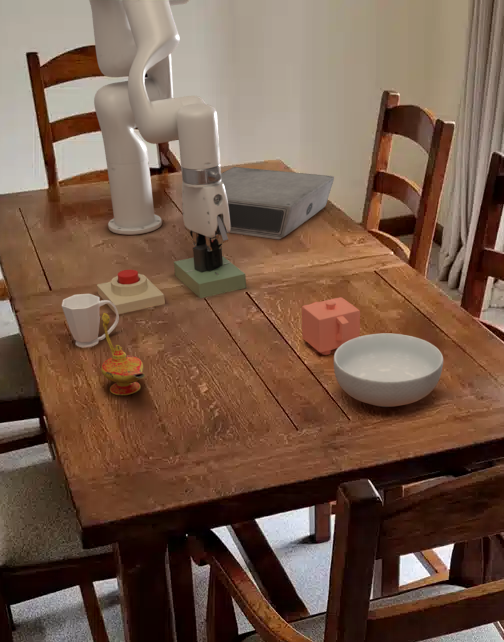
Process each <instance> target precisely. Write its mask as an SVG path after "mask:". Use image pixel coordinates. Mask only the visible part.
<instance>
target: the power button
mask: <svg viewBox="0 0 504 642" xmlns="http://www.w3.org/2000/svg"><path fill="white" fill-rule="evenodd" d="M138 274H139V272H138V270H136V269H124V270H121V271H119V272H117V276H118V282H119V283H120V284H133V283H136V282H138V281H139V277H138Z"/></svg>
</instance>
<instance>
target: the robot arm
mask: <svg viewBox="0 0 504 642" xmlns="http://www.w3.org/2000/svg"><path fill="white" fill-rule="evenodd" d="M88 1H89V4H90V9H91V18H92V25H93V36H94V46H95V55H96V61H97V65H98V68H99V71H100V73H101V74H103V76H105V77H107V78H123V77H124V78H125V77H128V78H127V80H125V81H118V82H112V83H108V84H105V85H103V86H101V87H100V88H99V89H98V90H96V92H95V95H94V98H93V103H94V104H93V105H94V111H95V114H96V118H97V121H98V125H99V128H100V132H101V137H102V142H103V149H104V154H105V155H104V156H105V161H106V168H107V176H108V182H109V191H110V198H111V199H110V200H111V207H112V212H113V213H112V215H113V218H112V219H110V220H109V221H108V223H107V226H108V230H109V231H110V232H112V233H114V234H118V235H125V236H126V235H129V236H131V235H142V234H147V233H150V232H153V231H156V230H158V229H159V228H161V226H162V225H163V221H162V220H163V219H162V217H161V216H159V215H158V214H155V207H154V198H153V188H152V181H151V180H152V179H151V171H150V170H151V169H150V161H149V153H148V147H147V145H146V143H145V142H147V143H148V144H151V145H157V144H158V145H159V144H164V143H168V142H175V141H178V147H179V159H180V170H181V180H182V181H181V183H182V184H181V212H182V221H183V225H184V229H185V230H186V231H187V232H188V233H189V235H190V236H191V238H192V245H193V247H196V246H199V245H202V244H205V243H206V246H207V251H205V257H206V269H207V270H208V271H210V270H213V269H216V268H219V267H220V266H221V264H220V250H219V249H220V248H221V245H223V244H225V243H227V242H229V237H228V235H227V234H230V233H229V232H230V216H229V207H228V201H227V195H226V191H225V187H224V184H223V182H221V173H222V169H221V151H220V150H221V149H220V136H219V122H218V113H217V110H216V108H215V107H214V106H213V105H211V104H209V103H208V104H207V103H206V102H205V100H204V98H202V97H200V96H198V95H184V96H179V97H174V83H173V81H174V80H173V64H172V53H174V51H176V49H177V48H178V47H179V45H180V42H181V38H180V33H179V31H178V27H177V24H176V21H175V19H174V15H173V11H172V6H173V7H174V6H180V5H186V4H187V3H189V2H190V1H191V0H88ZM146 75H147V77H146ZM135 129H137V130H138V132H139V135H140V136H141V137H140V136H139V135H138V133H136V132H135ZM212 240H213V242H212Z"/></svg>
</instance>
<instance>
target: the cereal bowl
mask: <svg viewBox="0 0 504 642" xmlns="http://www.w3.org/2000/svg"><path fill="white" fill-rule="evenodd" d="M443 366H444V356H443V353H442V351H440V349H439V348H438V347H437V346H435V345H434V344H433V343H431V342H429V341H427V340H425V339H422V338H420V337H416V336H412V335H408V334H403V333H402V334H401V333H394V332H393V333H389V332H388V333H386V332H383V333H371V334H365V335H361V336H360V337H357V338H354V339H351V340H349V341H347V342H345V343H343V344H342V345H341V346H340V347H339V348H336V349H335V351H334V355H333V373H334V375H335V379H336V381H337V384H338V385H339V386H340V388H341V389H342V391H344V393H346V394H347V395H348V396H350V397H351V398H353V399H354V400H356V401H358V402H361V403H365V404H369V405H372V406H375V407H379V408H381V407H382V408H392V407H393V408H394V407H399V406H405V405H409V404H413V403H416V402H419V401H420V400H422V399H424V398H426V397H427V396H428V395H429V394H430V393H432V391H434V389H435V388H436V387H437V385H438V383H439V382H440V378H441V376H442V372H443Z"/></svg>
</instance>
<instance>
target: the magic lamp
mask: <svg viewBox="0 0 504 642" xmlns="http://www.w3.org/2000/svg"><path fill="white" fill-rule="evenodd" d="M101 320H102V321H103V323H102V327H103V330H104V334H105V336H106V337H105V340H106V342H107V344H108V347H109V349H110V353H111V355H112V357H109V358H108V359H105V360H104V361H103V362H102V364H101V367H100V371H101V373H102V375H103V377H105V378H106V379H107V380H108V381H111V382H114V383H113V384H111V386H110V387H109V392H110V393H112V394H113V395H115V396H128V395H133V394H135V393H137V392H138V391H140V390H141V384H140V383H139V382H138V381H139V380H143V379H144V378H145V377H146V374H145V373H144V372H143V371H144V363H143V362H142V360H141V359H140V357H139V358H138V357H137V356H134V355H129V354H128V355H127V354H126V352H125V351H124V350H123V347H122V346H121V345H120V344H115V347H114V345H113V343H112V340H111V338H110V334H108V332H107V331H108V327H109V324H110V320H111V318H110V315H109V314H108V313H106V312H103V314H102V315H101Z"/></svg>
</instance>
